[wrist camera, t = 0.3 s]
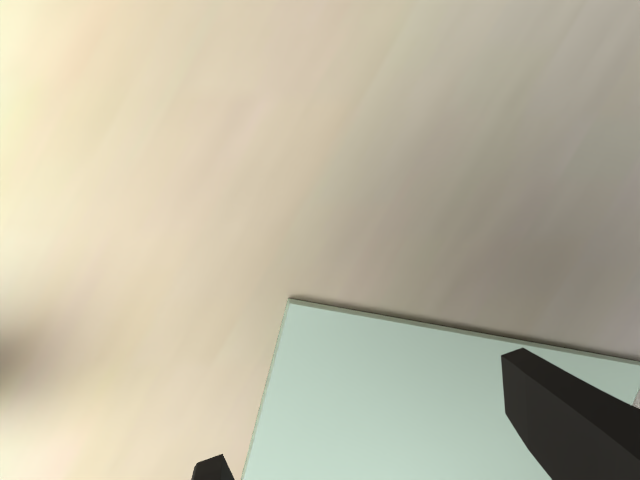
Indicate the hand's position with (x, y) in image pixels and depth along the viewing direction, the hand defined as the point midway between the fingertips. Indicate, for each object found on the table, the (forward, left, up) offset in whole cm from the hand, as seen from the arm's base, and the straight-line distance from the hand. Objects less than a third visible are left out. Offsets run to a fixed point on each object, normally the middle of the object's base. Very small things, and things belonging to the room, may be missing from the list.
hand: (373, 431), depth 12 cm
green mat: (-6, -9, -11) cm, 15 cm away
